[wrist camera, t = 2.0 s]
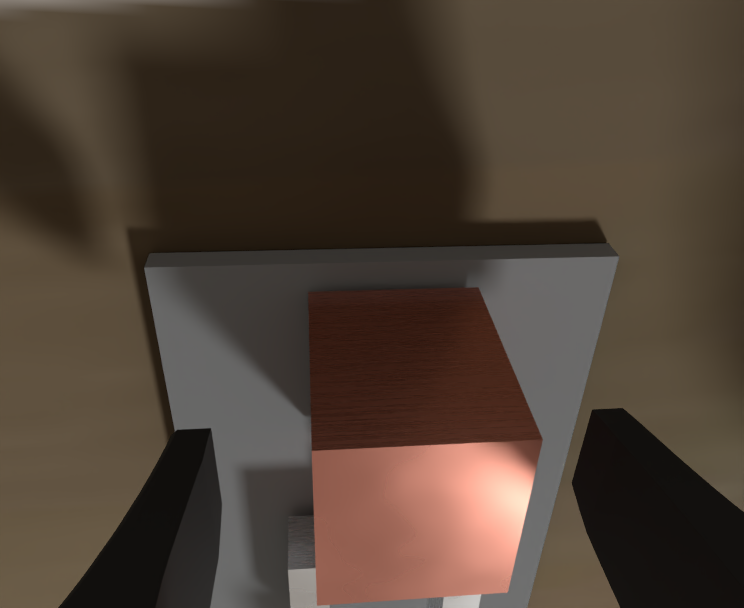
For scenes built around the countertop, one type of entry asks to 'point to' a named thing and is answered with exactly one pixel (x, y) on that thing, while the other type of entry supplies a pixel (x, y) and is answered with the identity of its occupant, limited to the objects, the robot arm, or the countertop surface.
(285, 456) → the mat
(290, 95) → the countertop surface
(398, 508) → the pink cube with handle
